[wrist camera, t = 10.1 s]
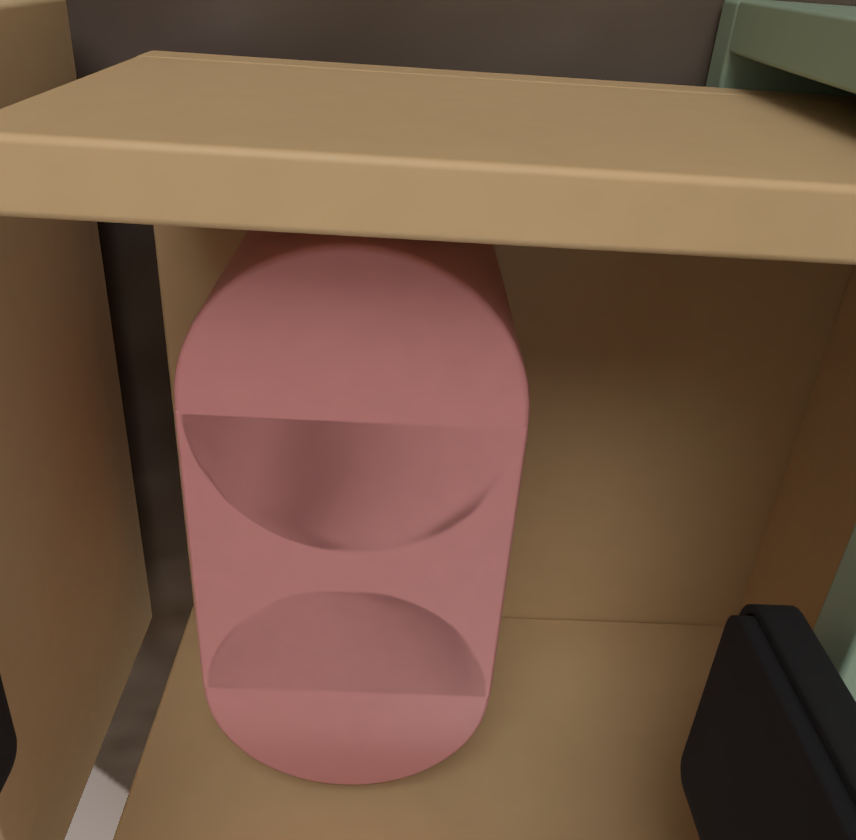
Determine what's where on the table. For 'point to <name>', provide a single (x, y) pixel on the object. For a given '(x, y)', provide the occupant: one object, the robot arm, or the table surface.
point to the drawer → (548, 419)
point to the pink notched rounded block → (351, 497)
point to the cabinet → (814, 74)
